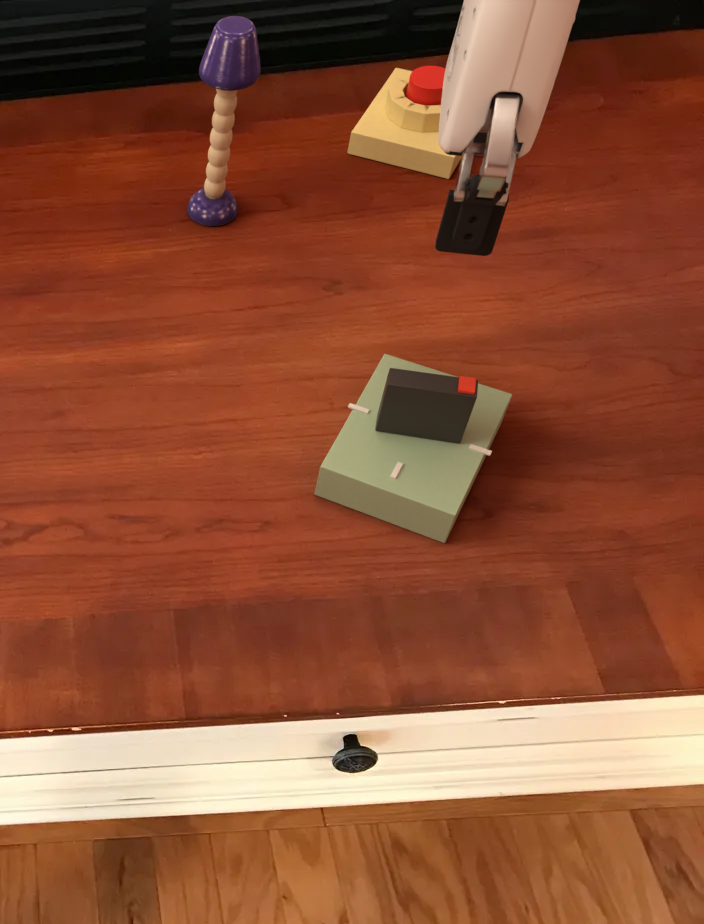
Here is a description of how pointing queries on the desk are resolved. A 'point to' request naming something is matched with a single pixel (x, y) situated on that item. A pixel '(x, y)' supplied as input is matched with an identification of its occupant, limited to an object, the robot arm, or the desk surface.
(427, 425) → the black rectangular block
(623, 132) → the desk surface
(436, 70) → the button
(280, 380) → the desk surface
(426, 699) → the desk surface
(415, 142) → the button block
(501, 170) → the robot arm
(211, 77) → the toy lamp
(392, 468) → the panel
